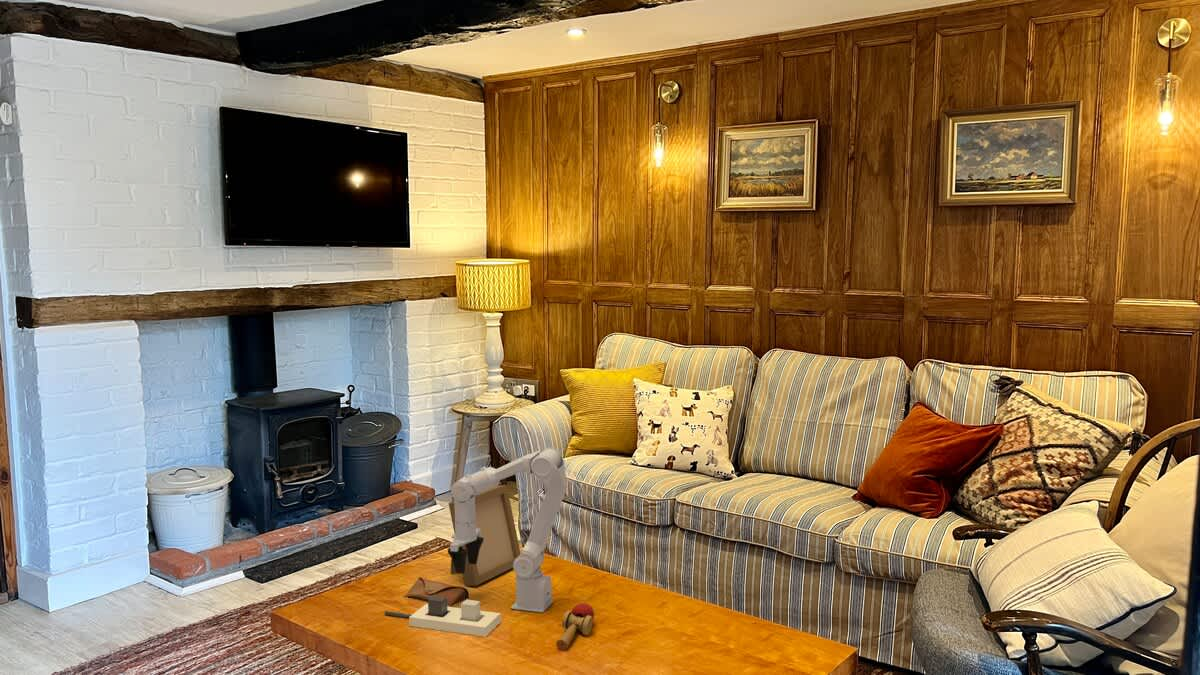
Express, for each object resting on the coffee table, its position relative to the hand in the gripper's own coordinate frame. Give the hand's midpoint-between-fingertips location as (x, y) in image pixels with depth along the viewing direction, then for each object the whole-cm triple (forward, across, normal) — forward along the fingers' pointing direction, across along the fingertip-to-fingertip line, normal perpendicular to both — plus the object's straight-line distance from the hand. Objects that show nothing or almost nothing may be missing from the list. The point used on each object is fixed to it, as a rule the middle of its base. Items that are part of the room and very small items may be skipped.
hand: (466, 568), depth 245 cm
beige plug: (+9, +15, +9) cm, 19 cm away
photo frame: (+10, -21, -6) cm, 24 cm away
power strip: (+9, +15, -1) cm, 18 cm away
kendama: (+10, +12, +36) cm, 40 cm away
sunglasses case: (+10, 0, -10) cm, 14 cm away
